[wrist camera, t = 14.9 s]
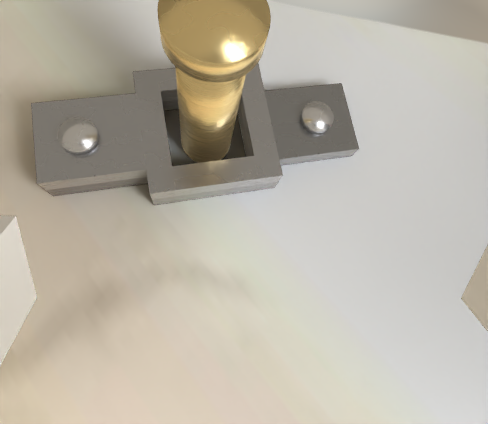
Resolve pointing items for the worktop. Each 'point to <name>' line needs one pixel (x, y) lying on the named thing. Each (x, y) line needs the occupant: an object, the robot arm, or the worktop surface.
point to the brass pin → (211, 65)
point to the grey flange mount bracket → (157, 147)
